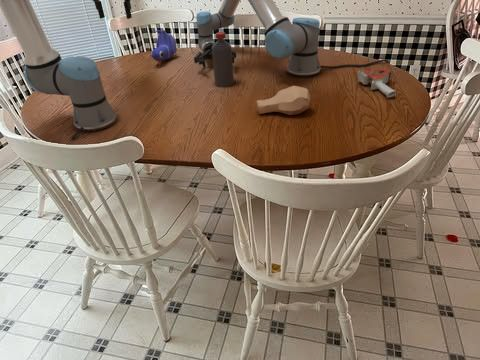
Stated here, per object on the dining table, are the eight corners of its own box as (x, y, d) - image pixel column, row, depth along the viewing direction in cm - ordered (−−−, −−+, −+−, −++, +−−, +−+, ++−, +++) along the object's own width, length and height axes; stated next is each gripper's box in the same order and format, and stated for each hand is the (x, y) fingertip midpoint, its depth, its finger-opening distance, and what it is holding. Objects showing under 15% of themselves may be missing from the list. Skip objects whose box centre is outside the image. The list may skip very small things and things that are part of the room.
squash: (314, 116, 128) (313, 95, 122) (259, 125, 130) (256, 105, 124) (308, 99, 136) (307, 78, 129) (257, 108, 138) (253, 88, 131)
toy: (165, 61, 201) (145, 67, 179) (160, 29, 194) (139, 31, 172) (181, 61, 199) (163, 66, 177) (177, 28, 192) (158, 30, 170)
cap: (217, 39, 145) (217, 34, 144) (215, 37, 148) (214, 32, 147) (226, 38, 146) (226, 33, 145) (223, 36, 149) (223, 31, 148)
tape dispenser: (391, 103, 136) (403, 82, 149) (394, 90, 133) (407, 70, 145) (346, 93, 144) (362, 74, 156) (348, 81, 140) (364, 62, 153)
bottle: (217, 88, 155) (213, 37, 142) (213, 81, 161) (208, 33, 149) (236, 84, 157) (233, 35, 144) (230, 78, 163) (227, 30, 151)
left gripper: (134, -42, 141) (145, 16, 153) (82, -40, 148) (96, 15, 160) (124, -40, 135) (136, 20, 148) (70, -38, 142) (86, 19, 154)
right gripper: (234, 54, 183) (245, 66, 166) (186, 60, 179) (193, 74, 162) (233, 39, 179) (244, 50, 162) (184, 45, 174) (190, 57, 158)
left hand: (115, 18), depth 154 cm, fingers open, 13 cm apart
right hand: (218, 62), depth 162 cm, fingers open, 13 cm apart
